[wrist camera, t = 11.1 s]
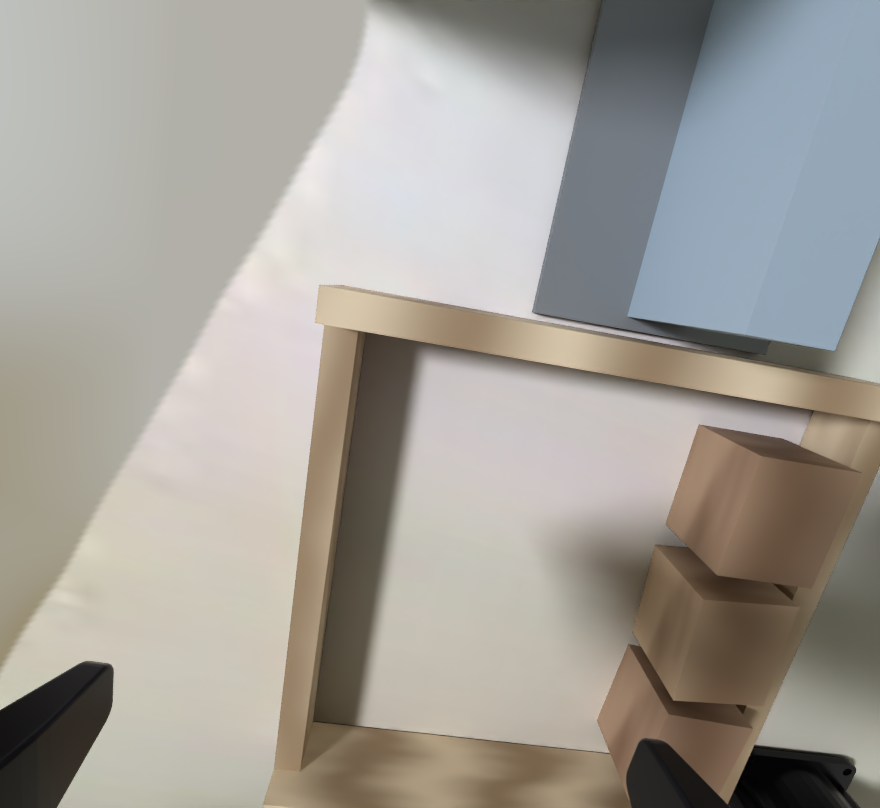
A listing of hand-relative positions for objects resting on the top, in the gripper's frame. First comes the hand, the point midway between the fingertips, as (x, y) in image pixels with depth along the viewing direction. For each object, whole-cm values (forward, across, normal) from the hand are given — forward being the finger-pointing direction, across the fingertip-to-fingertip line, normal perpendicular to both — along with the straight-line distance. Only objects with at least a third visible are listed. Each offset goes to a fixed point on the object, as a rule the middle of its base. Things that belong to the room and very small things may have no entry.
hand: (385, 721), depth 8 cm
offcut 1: (+13, -14, -1) cm, 19 cm away
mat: (+13, -9, -14) cm, 21 cm away
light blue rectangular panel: (+12, -9, -14) cm, 20 cm away
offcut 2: (+13, -15, +5) cm, 20 cm away
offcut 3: (+13, -15, +11) cm, 22 cm away
